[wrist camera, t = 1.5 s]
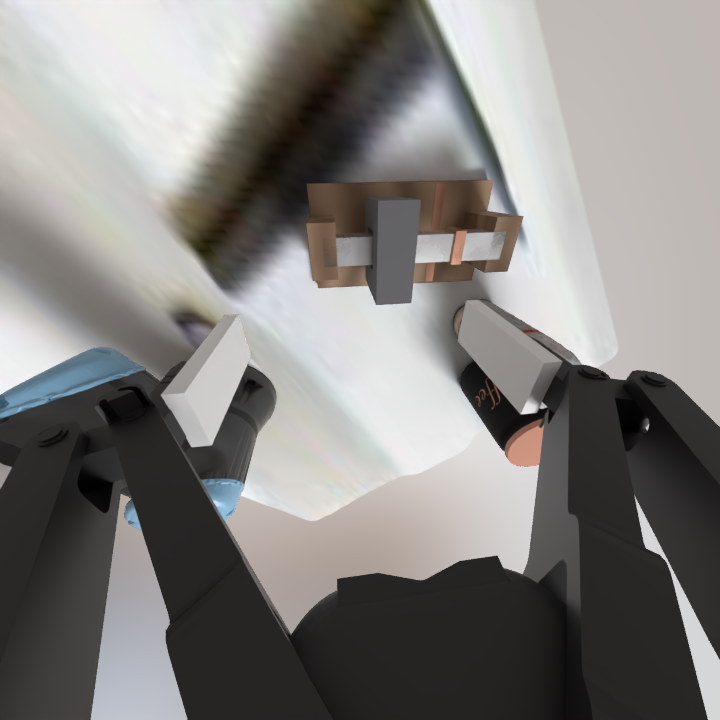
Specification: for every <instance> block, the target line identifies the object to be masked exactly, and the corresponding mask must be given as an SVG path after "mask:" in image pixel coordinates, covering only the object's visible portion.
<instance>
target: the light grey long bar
mask: <svg viewBox="0 0 720 720" xmlns="http://www.w3.org/2000/svg"><path fill="white" fill-rule="evenodd" d="M496 233H501V232H491V231H487V230H484V229H460V228H457V227H444V230H433V231H418V237H417V248H416V258H415V263H429V262H447V263H449V264H451V265H457V264H461V261H473V260H487V259H488V260H495V258H496V259H498V257H499V258H500V256H499V255H501V250H502V247H503V244H502V242H501V240H503V236H504V234H506V232H503V233H504V234H502V233H501V234H502V235H503V236H502V235H501V234H498V235H499V236H498V237H494V236H497V235H496ZM494 234H495V235H494ZM494 238H495V239H494ZM496 238H497V239H496ZM498 238H499V239H498ZM504 238H505V236H504ZM328 240H329V239H328ZM333 240H334V239H333ZM495 240H496V242H498V241H497V240H500V243H501V244H500V243H497V244H496V242H493V243H492V241H495ZM504 240H505V239H504ZM504 240H503V243H504ZM335 243H336V249H337V255H334V256H337V257H336V258H337V261H335V262H334V261H333V260H332V259H333V258H334V256H333V257H332V259H331V260H332V261H333V262H334V263H338V264H337V265H338V266H336V267H340V266H362V265H373V233H348V234H336V242H335ZM491 243H492V244H491ZM494 243H495V244H494ZM326 244H327V243H326ZM328 245H329V244H328ZM496 246H497V247H498V248H496ZM499 246H500V247H501V248H500V247H499ZM328 247H329V246H328ZM333 247H334V246H333ZM493 248H495V249H493ZM323 249H324V248H323ZM327 249H328V248H327ZM327 249H325V251H326V252H327V251H328V250H327ZM490 249H491V250H490ZM331 250H332V252H333V249H331ZM492 250H494V251H492ZM498 250H499V251H498ZM323 251H324V250H323ZM324 253H325V252H324ZM327 254H329V253H327ZM327 254H326V255H327ZM326 255H325V256H326ZM327 256H328V255H327ZM327 256H326V257H327ZM488 256H489V257H488ZM493 256H494V258H493ZM496 256H497V257H496ZM328 258H331V257H330V256H328ZM328 258H327V259H328ZM325 259H326V258H325ZM327 259H326V260H327ZM334 260H335V259H334ZM328 261H330V260H328ZM328 261H327V263H326V264H325V265H326V266H327V265H331V264H330V263H331V262H330V263H329V262H328ZM325 262H326V261H325ZM325 262H324V263H325ZM333 262H332V263H333ZM325 265H324V266H325ZM326 266H325V267H326ZM328 267H330V266H328ZM334 267H335V265H334Z"/></svg>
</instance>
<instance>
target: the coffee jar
mask: <svg viewBox="0 0 720 720" xmlns="http://www.w3.org/2000/svg"><path fill="white" fill-rule="evenodd" d="M460 383H461V389H462V391H463V393H464V394H465V396H466V397H467V399H468V400H469V402H470V403H471V405H472V406H473V408H474V409H475V411H476V412H477V414H478V415H479V417H480V418H481V420H482V421H483V423H484V424H485V426H486V427H487V429H488V430H489V432H490V433H491V435H492V436H493V438H494V439H495V441H496V442H497V443H498V445H499V446H500V448H501V449H502V450H503V451H505V455H506V457H507V458H508V460H509V461H510V462H511V463H512V464H514V465H517V466H524V467H528V466H535V465H539V463H540V455H541V446H542V437H543V428H544V425H543V427H542V428H540V427H539V425H540V423H541V422H542V420H543V418H544V416H545V414H546V412H547V410H548V407H547V408H543V409H540V408H539V410H538V412H537V413H530V414H520V413H519V412H518V411H517V410H516V408H515V407H514V406H513V405H512V404H511V403H510V401H509V400H508V399H507V398H506V397H505V396H504V394H503V393H502V392H501V391H500V390H499V389H498V388H497V386H496V385H495V384H494V383H493V382H492V381H491V379H490V378H489V377H488V376H487V375H486V374H485V372H484V371H483V370H482V369H481V368H480V367H479V365H478V364H477V363H476V362H475V361H474V362H472V363H471V364H470V365H469V366H468V367H467V368H466V369H465V370H464V372H463V374H462V378H461V382H460Z"/></svg>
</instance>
